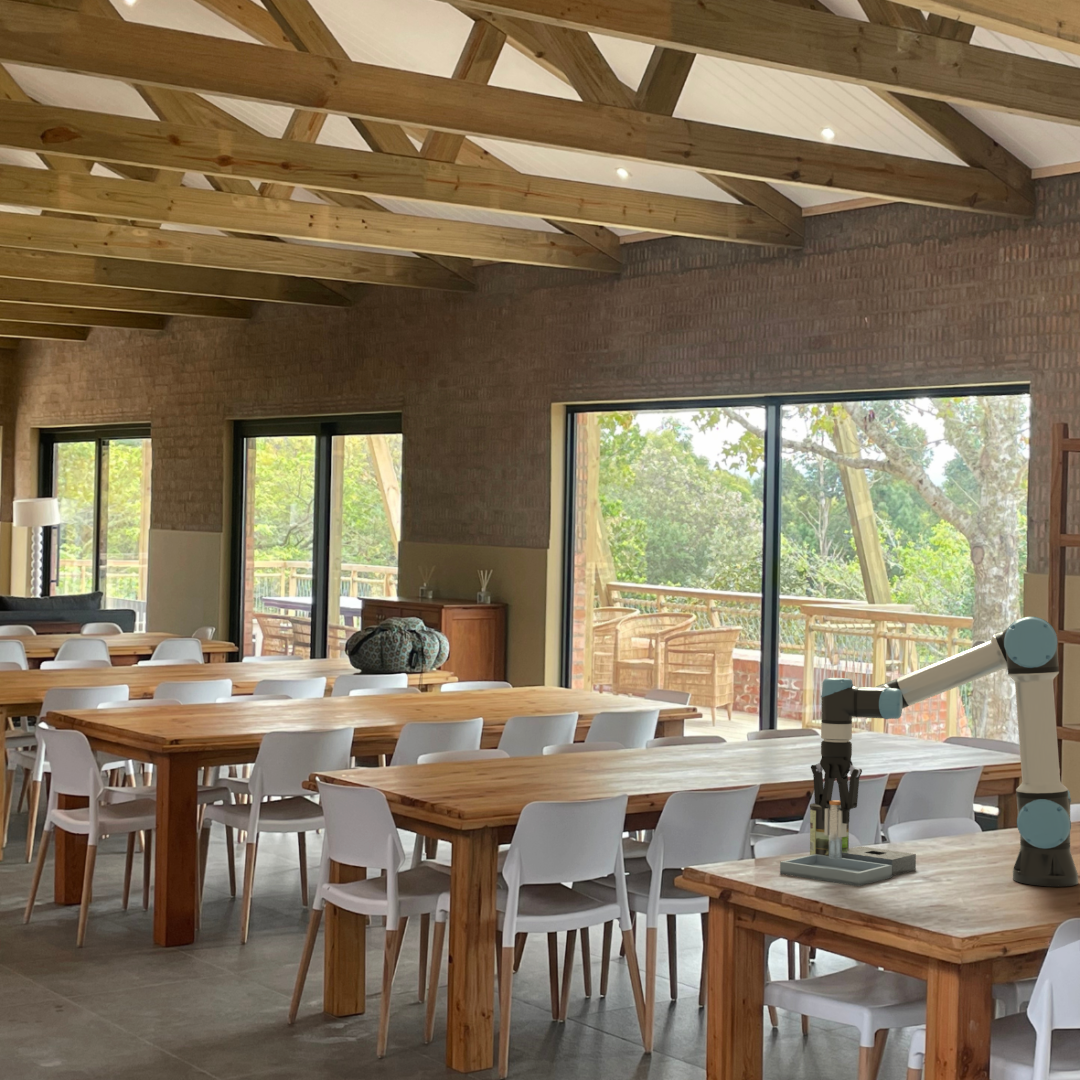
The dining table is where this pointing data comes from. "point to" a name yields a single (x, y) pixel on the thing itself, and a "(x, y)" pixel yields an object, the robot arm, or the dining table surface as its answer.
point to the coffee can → (821, 833)
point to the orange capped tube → (834, 831)
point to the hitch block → (883, 858)
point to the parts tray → (836, 869)
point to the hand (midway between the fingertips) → (835, 835)
